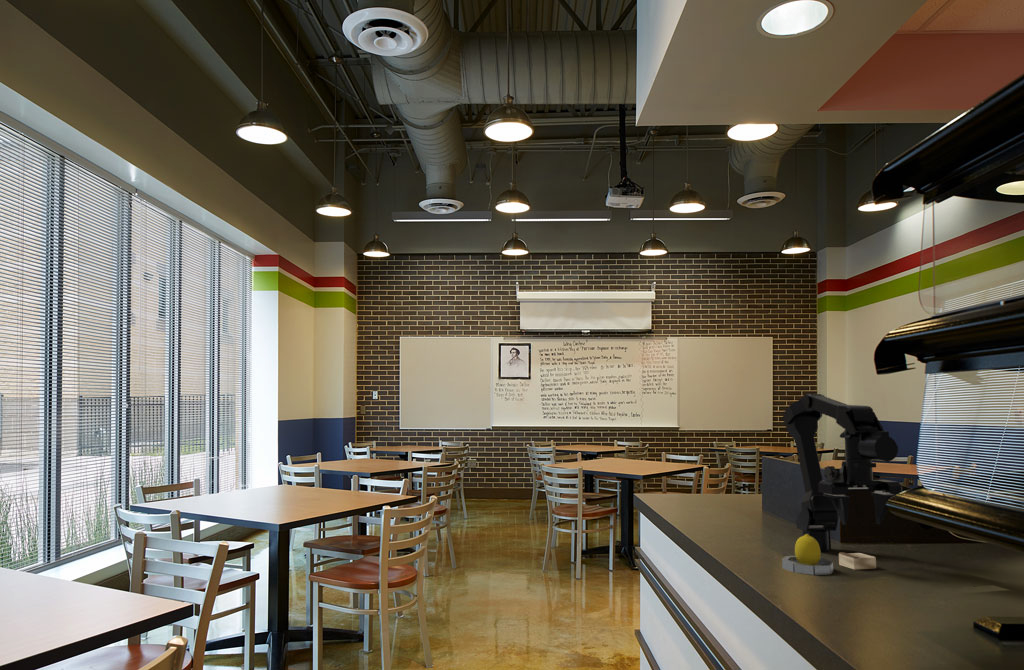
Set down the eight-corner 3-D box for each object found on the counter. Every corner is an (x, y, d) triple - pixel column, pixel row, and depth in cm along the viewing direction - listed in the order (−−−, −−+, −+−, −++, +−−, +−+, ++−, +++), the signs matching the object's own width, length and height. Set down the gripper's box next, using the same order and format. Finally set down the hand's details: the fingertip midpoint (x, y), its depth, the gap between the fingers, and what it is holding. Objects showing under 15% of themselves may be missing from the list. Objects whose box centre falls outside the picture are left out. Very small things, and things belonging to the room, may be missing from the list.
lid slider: (860, 563, 163) (860, 551, 163) (876, 568, 158) (875, 556, 158) (839, 564, 161) (838, 552, 162) (854, 569, 156) (853, 557, 157)
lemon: (824, 569, 157) (823, 534, 158) (816, 573, 153) (814, 537, 154) (800, 565, 161) (799, 531, 161) (791, 569, 157) (790, 533, 157)
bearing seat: (812, 563, 163) (812, 554, 163) (842, 573, 153) (842, 564, 153) (774, 565, 160) (774, 556, 161) (802, 576, 150) (802, 566, 151)
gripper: (869, 455, 172) (872, 517, 171) (803, 455, 169) (805, 519, 167) (902, 458, 161) (905, 525, 160) (832, 459, 158) (834, 527, 156)
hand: (861, 524), depth 161 cm, fingers open, 9 cm apart
